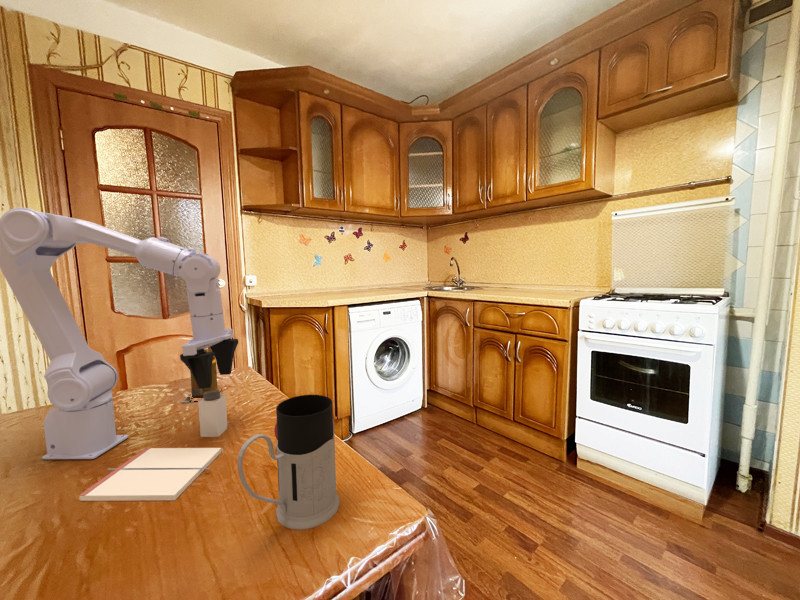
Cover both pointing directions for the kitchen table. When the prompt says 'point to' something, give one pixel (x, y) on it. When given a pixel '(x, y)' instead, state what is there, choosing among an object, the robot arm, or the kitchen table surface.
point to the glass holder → (302, 462)
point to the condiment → (199, 392)
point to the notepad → (152, 475)
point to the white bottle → (212, 414)
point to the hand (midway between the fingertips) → (215, 380)
